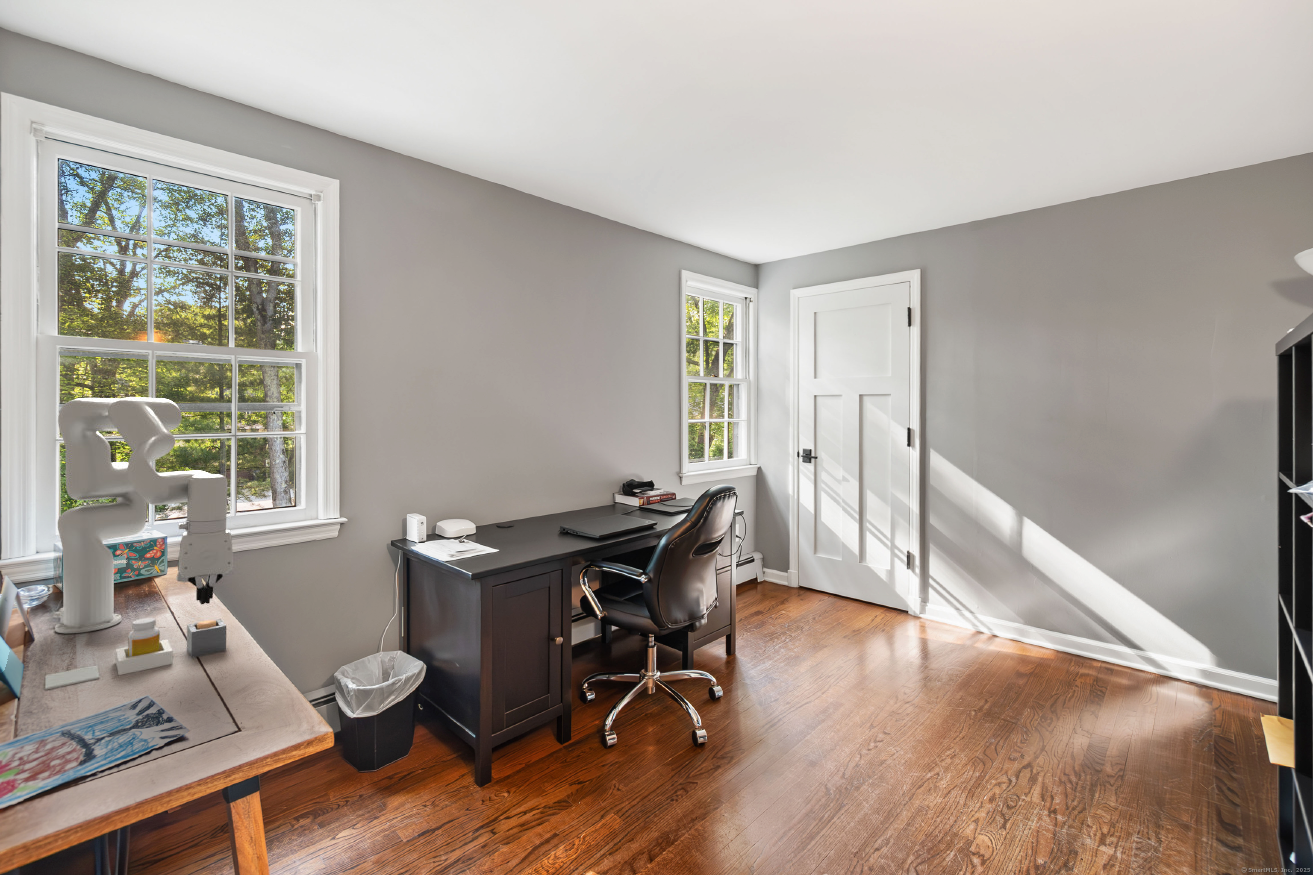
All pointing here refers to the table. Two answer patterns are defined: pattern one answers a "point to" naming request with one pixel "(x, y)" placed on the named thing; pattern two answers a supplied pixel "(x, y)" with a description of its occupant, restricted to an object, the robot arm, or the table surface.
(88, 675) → the mat
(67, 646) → the table surface
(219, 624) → the egg pedestal
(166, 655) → the collar
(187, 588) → the table surface
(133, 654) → the supplement bottle
